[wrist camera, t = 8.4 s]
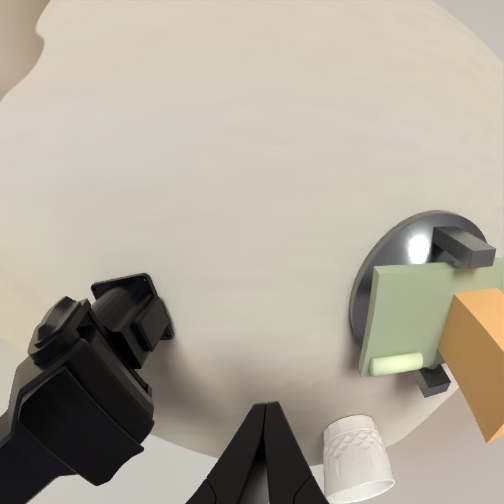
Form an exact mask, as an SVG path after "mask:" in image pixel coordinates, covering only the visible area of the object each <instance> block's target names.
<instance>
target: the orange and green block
mask: <svg viewBox="0 0 504 504" xmlns="http://www.w3.org/2000/svg"><path fill="white" fill-rule="evenodd" d="M442 363H446V364H447V365H448V367H449V369H450V371H451V372H452V374H453V376H454V378H455V380H456V381H457V383H458V385H459V387H460V389H461V390H462V393H463V395H464V397H465V398H466V400H467V402H468V404H469V406H470V409H471V411H472V412H473V415H474V417H475V419H476V421H477V423H478V425H479V428H480V430H481V432H482V434H483V437H484V439H485V441H486V444H487V443H489V442H491V441H493V440H495V439H497V438H499V437H500V436H502V435H504V258H495V259H494V262H493V266H490V267H482V268H474V269H469V268H468V267H466V266H465V265H464V264H462V263H461V262H460V261H458V260H457V259H456V258H454V262H440V263H424V264H407V265H389V266H374V270H373V279H372V288H371V296H370V303H369V310H368V317H367V323H366V329H365V335H364V340H363V345H362V351H361V355H360V360H359V365H358V369H359V372H360V376H361V377H366V376H380V375H387V374H394V373H400V372H406V371H412V370H417V369H421V368H423V367H427V368H429V369H435V368H436V367H437V365H438V364H442Z"/></svg>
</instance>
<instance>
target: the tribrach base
mask: <svg viewBox="0 0 504 504" xmlns="http://www.w3.org/2000/svg"><path fill="white" fill-rule="evenodd" d="M495 252H496V249H495V248H494V247H492V246H490V245H489V244H487V241H486V239H485V237H484V235H483V234H482V232H481V231H480V230H479V228H478V227H477V226H476V225H475V224H473V223H472V222H471V221H470V220H468V219H466V218H464V217H462V216H460V215H458V214H455V213H452V212H449V211H442V210H434V211H427V212H423V213H419V214H417V215H414V216H412V217H409V218H408V219H406V220H404V221H402V222H401V223H399V224H398V225H396V226H395V227H394V228H392V229H391V230H390V231H389V232H388V233H387V234H386V235H385V236H383V237H382V238H381V239H380V241H379V242H378V243H377V244H376V245H375V246H374V248H373V249H372V250H371V252H370V253H369V255H368V256H367V257H366V259H365V261H364V262H363V264H362V266H361V268H360V270H359V272H358V274H357V277H356V279H355V282H354V285H353V289H352V292H351V298H350V321H351V325H352V329H353V332H354V334H355V337H356V339H357V341H358V343H359V345H360V347H361V348H362V345H363V340H364V335H365V329H366V323H367V317H368V310H369V303H370V296H371V288H372V279H373V270H374V266H389V265H407V264H424V263H440V262H454V258H456V259H457V260H458V261H460V262H461V263H462V264H464V265H465V266H466V267H468V268H469V269H474V268H482V267H490V266H493V262H494V257H495ZM412 373H413V375H414V377H415V379H416V381H417V383H418V385H419V387H420V389H421V391H422V393H423V396H424V398H425V397H429V396H432V395H436V394H439V393H442V392H445V391H447V389H448V387H449V385H450V383H451V381H450V379H449V378H448V376H447V374H446V373H445V371H444V369H443V368H442V366H441V364H438V365H437V367H436V368H435V369H429V368H427V367H423V368H421V369H417V370H412Z"/></svg>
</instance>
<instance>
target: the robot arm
mask: <svg viewBox="0 0 504 504" xmlns="http://www.w3.org/2000/svg"><path fill="white" fill-rule="evenodd" d="M142 278H144V279H145V280H146V281H144V280H143V279H142ZM95 287H96V288H97V289H96V288H95ZM91 290H92V292H93V295H94V297H95V299H96V302H95V303H94V304H93V305H92V306H91V304H90V302H89V300H88V299H87V298H86V299H84V300H81V301H78V302H76V301H75V300H72V299H71V298H69V297H67V296H65V297H63V298H62V299H60V300H59V301H58V302H57V303H56V304H55V305H54V306H53V307H51V308H50V309H49V311H48V312H47V313H46V315H45V316H44V318H43V320H42V321H41V323H40V324H39V325H37V326H36V328H35V330H34V333H33V336H32V339H31V342H30V345H29V348H28V354H29V356H28V357H27V358H26V359H25V360H24V361H23V362H22V363H21V364H20V365H19V366H18V367H17V369H16V372H15V377H14V381H13V385H12V390H11V395H10V400H9V406H8V410H7V411H6V412H5V413H4V414H3V415H2V416H1V417H0V504H27V503H28V502H29V501H30V500H31V499H33V498H34V497H35V496H36V495H37V494H38V493H40V492H41V491H42V490H43V489H44V488H45V487H46V486H47V485H49V484H50V483H51V482H52V481H53V480H55V479H56V478H58V477H59V476H68V475H78V474H79V475H80V476H81V477H83V478H84V479H86V480H87V481H89V482H90V483H92V484H93V485H95V486H99V485H101V484H104V483H106V482H108V481H110V480H111V478H112V477H113V476H114V475H115V473H116V472H117V471H118V470H119V468H120V467H121V466H122V465H123V464H124V463H125V462H127V461H128V460H129V459H130V458H132V457H133V456H135V455H137V454H139V453H141V452H143V450H144V447H142V446H141V445H140V444H141V443H142V442H143V441H144V439H145V438H146V437H147V436H148V435H149V433H150V432H151V430H152V428H153V426H154V420H153V419H152V418H153V411H154V405H153V401H152V388H151V387H150V386H149V385H148V384H146V383H145V382H144V381H143V379H142V378H141V377H140V376H139V374H138V373H137V372H136V371H135V369H141V367H142V365H143V364H144V362H145V360H146V358H147V356H148V354H149V352H153V351H154V349H155V347H156V345H157V343H158V341H159V340H169V339H171V338H172V337H173V331H172V328H171V326H170V324H169V319H168V317H167V315H166V312H165V310H164V308H163V305H162V303H161V301H160V298H159V297H158V296H157V294H156V291H155V289H154V286H153V284H152V281H151V279H150V277H149V275H148V274H146V273H140V274H136V275H131V276H126V277H121V278H116V279H111V280H106V281H102V282H97V283H94V284H93V285H92V286H91ZM166 333H168V334H169V335H168V334H166ZM206 478H207V479H205V480H204V481H203V483H202V484H201V485H200V487H199V488H198V489H197V491H196V492H195V493H194V494H193V496H192V497H191V498H190V499H189V500H188V501H187V502H186V503H185V504H268V503H269V504H330V503H329V502H328V500H327V499H326V497H325V496H324V495H323V493H322V491H321V489H320V487H319V486H318V484H317V482H316V480H315V478H314V476H313V475H312V472H311V470H310V468H309V466H308V464H307V462H306V460H305V457H304V455H303V453H302V451H301V449H300V447H299V445H298V443H297V441H296V438H295V436H294V434H293V432H292V430H291V428H290V426H289V423H288V421H287V419H286V417H285V415H284V412H283V410H282V408H281V406H280V404H279V402H278V401H274V402H268V403H267V404H266V403H256V404H254V405H253V407H252V408H251V410H250V412H249V413H248V415H247V416H246V418H245V420H244V421H243V423H242V425H241V426H240V428H239V429H238V431H237V433H236V434H235V436H234V437H233V439H232V440H231V442H230V443H229V445H228V446H227V448H226V449H225V451H224V452H223V454H222V455H221V457H220V458H219V460H218V462H217V463H216V464H215V466H214V467H213V469H212V470H211V472H210V473H209V474H208V476H207V477H206Z"/></svg>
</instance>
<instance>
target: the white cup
mask: <svg viewBox="0 0 504 504" xmlns="http://www.w3.org/2000/svg"><path fill="white" fill-rule="evenodd" d="M323 439H324V450H323V456H324V459H323V463H324V496H325V497H326V499H327V500H328V502H329V503H330V504H346V503H353V502H358V501H362V500H365V499H368V498H372V497H374V496H377V495H379V494H381V493H383V492H385V491H387V490H389V489H390V488H391V487H393V486H394V484H395V480H394V476H393V473H392V470H391V467H390V463H389V460H388V457H387V454H386V451H385V449H384V446H383V443H382V440H381V437H380V435H379V434H378V431H377V428H376V425H375V422H374V420H373V419H372V418H371V417H369V416H365V415H355V416H349V417H345V418H342V419H339V420H337V421H335V422H334V423H332V424H330V425H329V426H328V427H327V428H326V429H325V430H324V433H323Z"/></svg>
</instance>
